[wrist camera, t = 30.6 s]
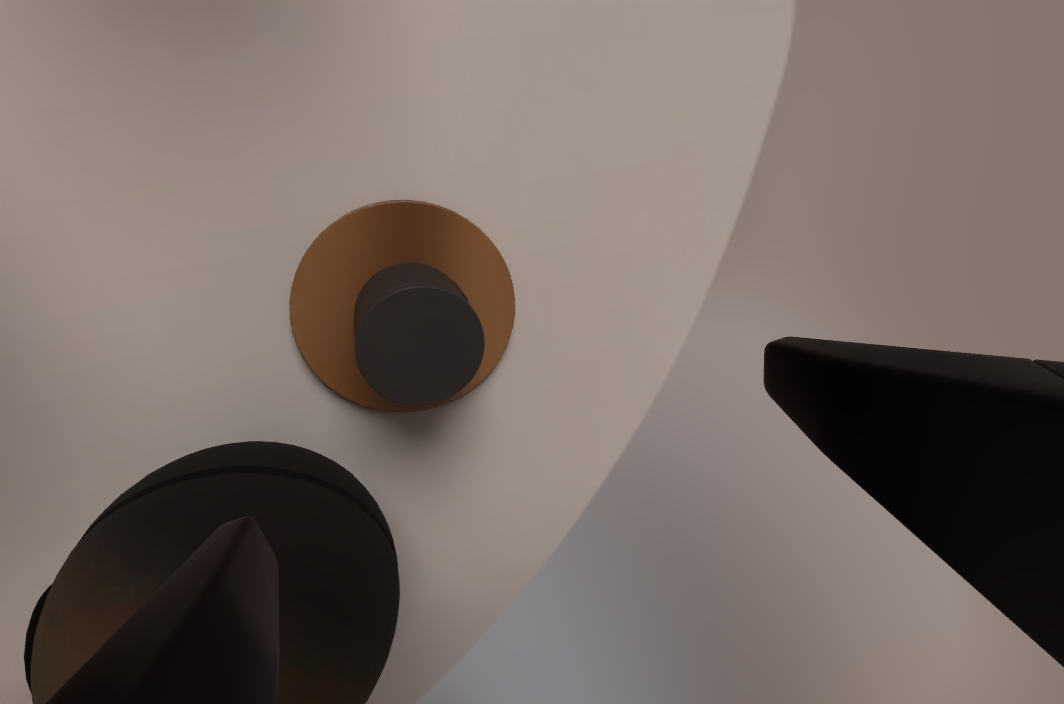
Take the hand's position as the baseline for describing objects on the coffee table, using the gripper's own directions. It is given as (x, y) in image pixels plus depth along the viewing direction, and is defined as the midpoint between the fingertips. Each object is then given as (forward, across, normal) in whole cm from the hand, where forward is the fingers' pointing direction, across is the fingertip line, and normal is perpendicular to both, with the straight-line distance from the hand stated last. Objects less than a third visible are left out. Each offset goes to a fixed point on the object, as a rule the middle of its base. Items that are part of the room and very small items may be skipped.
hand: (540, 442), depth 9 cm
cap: (+11, +1, +1) cm, 12 cm away
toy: (+12, +9, +7) cm, 16 cm away
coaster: (+12, +1, +1) cm, 12 cm away
